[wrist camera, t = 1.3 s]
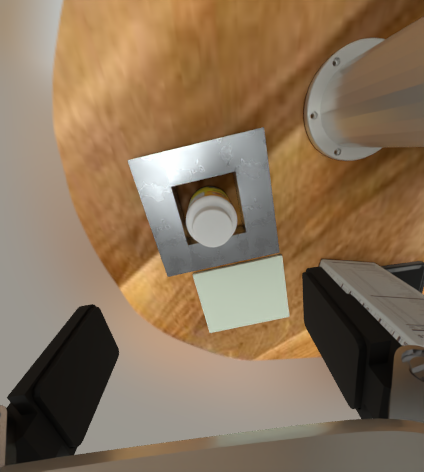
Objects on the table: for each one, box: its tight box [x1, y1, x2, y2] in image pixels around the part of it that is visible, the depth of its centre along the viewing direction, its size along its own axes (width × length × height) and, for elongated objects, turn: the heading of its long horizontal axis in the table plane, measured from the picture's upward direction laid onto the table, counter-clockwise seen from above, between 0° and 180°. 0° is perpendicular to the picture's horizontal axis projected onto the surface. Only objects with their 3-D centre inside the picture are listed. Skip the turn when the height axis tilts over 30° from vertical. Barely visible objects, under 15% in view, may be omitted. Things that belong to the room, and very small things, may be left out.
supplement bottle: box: [186, 186, 237, 247], centre depth 26 cm, size 6×6×10 cm
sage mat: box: [193, 254, 289, 333], centre depth 36 cm, size 14×12×1 cm
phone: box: [380, 261, 424, 293], centre depth 37 cm, size 8×1×15 cm
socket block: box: [128, 127, 279, 277], centre depth 30 cm, size 16×16×3 cm
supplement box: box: [319, 259, 424, 347], centre depth 29 cm, size 10×9×17 cm
